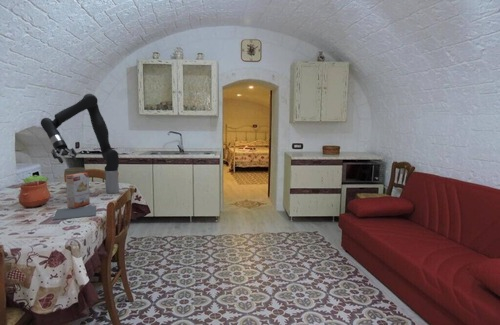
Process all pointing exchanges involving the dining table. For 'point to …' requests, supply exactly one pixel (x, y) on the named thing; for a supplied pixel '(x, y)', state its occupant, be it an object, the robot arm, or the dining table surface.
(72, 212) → the rubber mat
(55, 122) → the robot arm
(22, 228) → the dining table surface
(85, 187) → the cracker box
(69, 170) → the plant pot
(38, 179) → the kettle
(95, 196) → the dining table surface
